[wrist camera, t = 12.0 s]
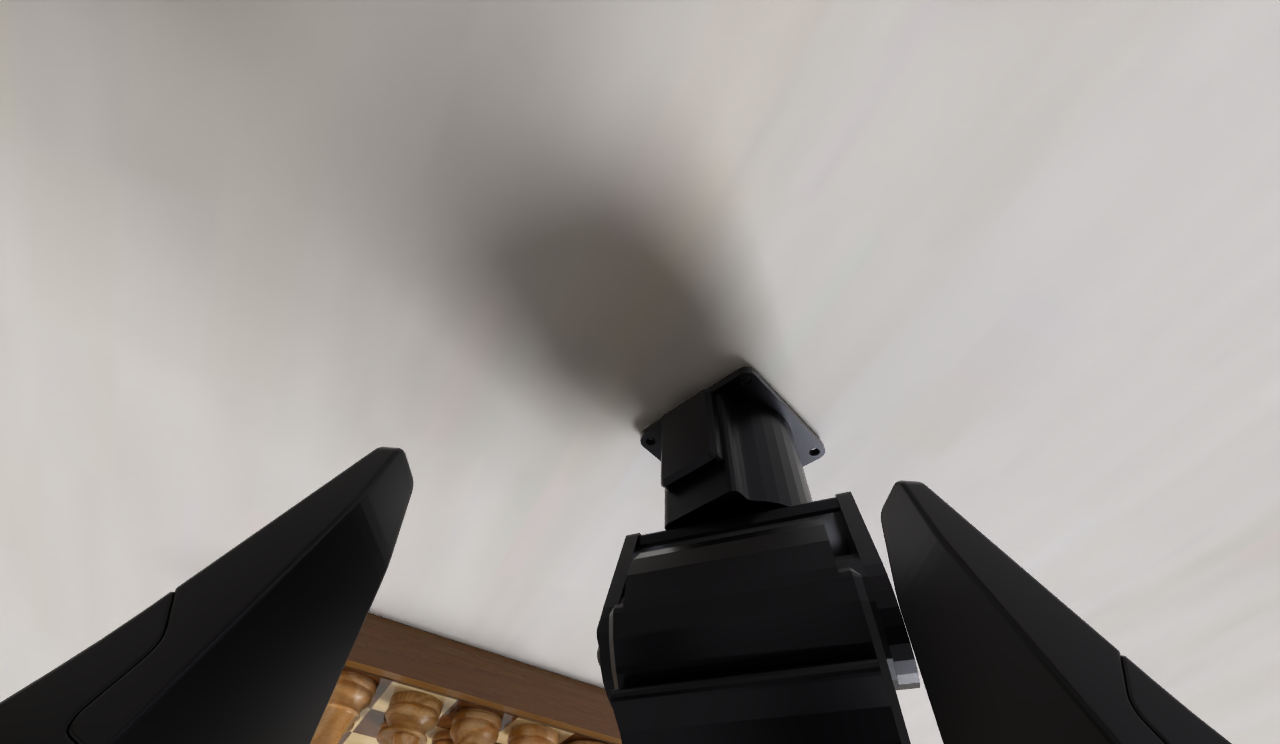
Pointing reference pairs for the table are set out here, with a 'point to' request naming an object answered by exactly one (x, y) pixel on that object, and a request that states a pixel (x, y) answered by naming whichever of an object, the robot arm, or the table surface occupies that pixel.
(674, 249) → the table surface
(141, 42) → the table surface
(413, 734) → the chess set
